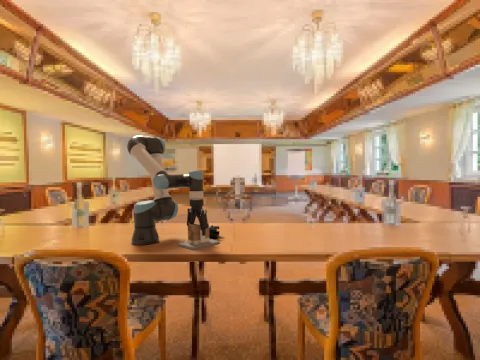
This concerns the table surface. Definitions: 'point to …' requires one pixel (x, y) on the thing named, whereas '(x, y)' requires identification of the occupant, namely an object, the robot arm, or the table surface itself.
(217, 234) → the end cap
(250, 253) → the table surface
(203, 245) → the gray board
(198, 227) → the walnut box
